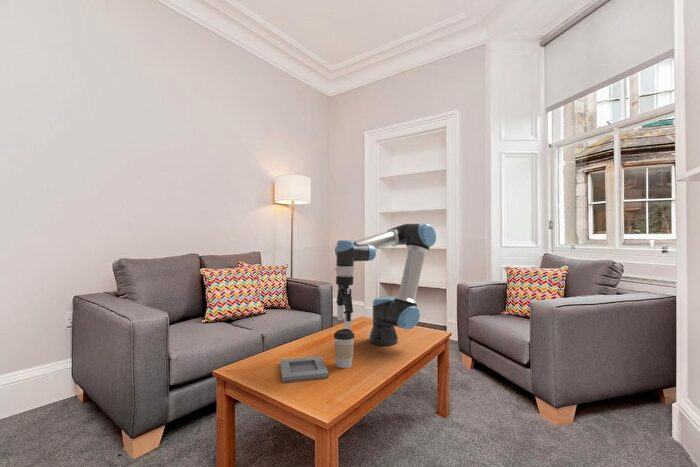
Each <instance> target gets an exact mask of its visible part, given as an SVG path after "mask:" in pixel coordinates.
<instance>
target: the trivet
mask: <svg viewBox="0 0 700 467" xmlns="http://www.w3.org/2000/svg"><path fill="white" fill-rule="evenodd" d="M279 366H280V376H281V382H282V383H291V382H301V381H310V380H321V379H329V371H328V368H327V366H326V365H325V363H324V359H323V358H322V356H320V355H319V356H308V357H297V358H286V359H285V358H284V359H283V358H282V359H280V360H279Z"/></svg>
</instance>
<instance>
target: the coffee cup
mask: <svg viewBox="0 0 700 467" xmlns="http://www.w3.org/2000/svg"><path fill="white" fill-rule="evenodd" d="M333 338H334V341H333V342H334V344H333V345H334V357H335V366H336V367H338V368H341V369H348V368H351V367H352V365H353V356H354V346H355V342H354V341H355V333H354V332H353V331H352V330H350V329H344V328H342V329H338V330H336V332H334V334H333Z"/></svg>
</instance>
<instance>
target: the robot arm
mask: <svg viewBox="0 0 700 467" xmlns="http://www.w3.org/2000/svg"><path fill="white" fill-rule="evenodd" d="M436 241H437V232H436V231H435V227H433V226H432V225H431V224H429V223H422V222H421V223H404V224H400V225H397V226H395V227H394V226H393V227H391V228H389V229H387V230H386V231H384V232H381V233H377V234H374V235H370V236H367V237H364V238H360V239H356V240H352V239H350V240H349V239H339V240H338V241H337V242H336V245H335V247H334V248H335V249H334V253H335V256H336V262H335V263H336V267H334V268H335V269H334V270H335V271H336V276H335V284H336V285H337V287H338V288H337V289H338V290H337V296H336V305H337V310H336V311H337V314H336V315H337V316H336V317H337V318H336V320H337V321H343V323H344V325H343V329H349V330H350V329H352V314H353V313H354V309H353V299H352V297H353V296H352V289H351V288H350V286H353V284H354V276H353V275H354V270H355V269H354V268H355V267H354V264H355V262H369V261H374V260H375V258H376V255H377V250H380V249H383V248H386V247H391V246H392V247H396V246H402V245H403V246H406V248H407V250H408V251H407V255H406V261H405V264H404V269H403V272H402V277H401V282H400V287H399V291H398V295H397V296H395V297H393V296H386V297H385V296H384V297H377V298H374V299H373V300H372V327H371V330H370V334H369V338H368V339H369V342H370V343H371V344H374V345H377V346H393V345H396V344H398V342H399V338H398V333H397V331H396V327H398V328H400V329H403V330H411V329H413V328H414V327H416V326H417V324H418V323H419V321H420V317H421V313H420V309H419V308H418V302H417V301H416V298H417V292H418V287H419V283H420V279H421V273H422V269H423V264H424V259H425V255H426V254H427V253H428V252H429V251H430V247H433V246H434V245H435V244H436Z"/></svg>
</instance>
